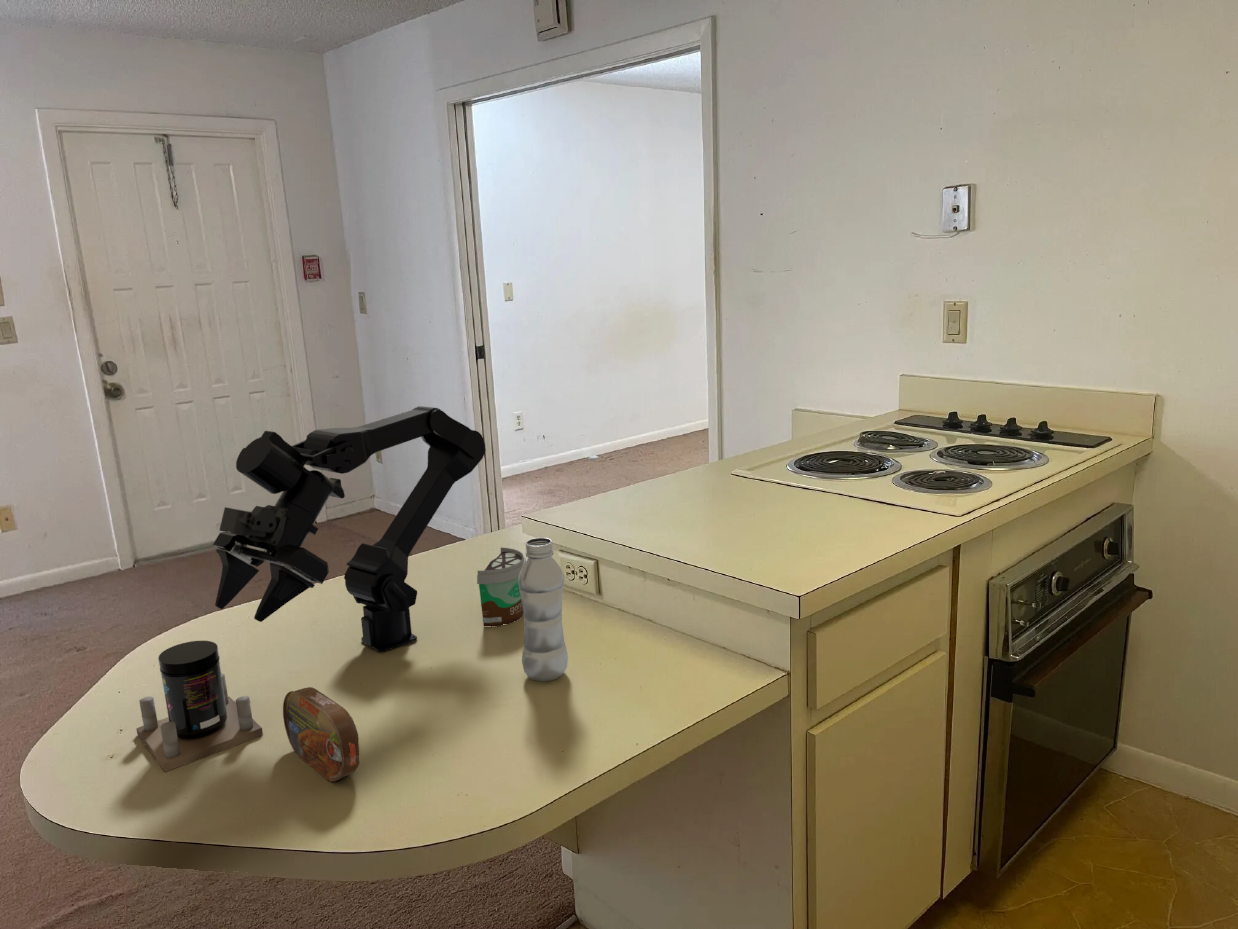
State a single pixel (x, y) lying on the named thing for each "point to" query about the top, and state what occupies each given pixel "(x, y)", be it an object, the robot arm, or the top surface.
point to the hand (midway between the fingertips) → (237, 613)
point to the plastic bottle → (542, 612)
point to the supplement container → (193, 688)
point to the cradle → (182, 751)
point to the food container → (501, 588)
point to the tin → (321, 733)
